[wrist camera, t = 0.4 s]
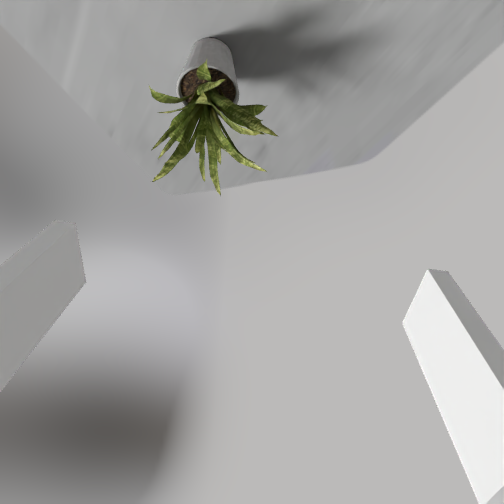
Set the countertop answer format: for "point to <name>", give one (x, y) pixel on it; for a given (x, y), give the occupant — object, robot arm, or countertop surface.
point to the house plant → (208, 109)
